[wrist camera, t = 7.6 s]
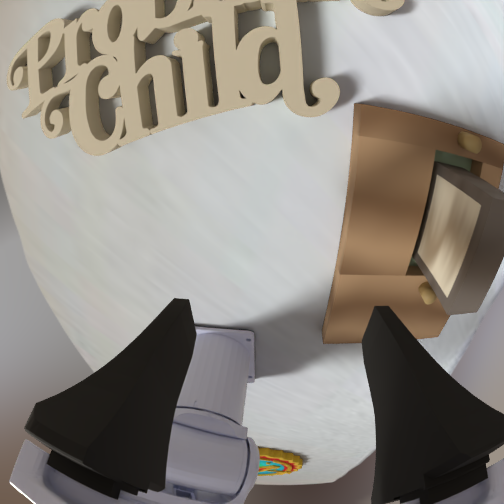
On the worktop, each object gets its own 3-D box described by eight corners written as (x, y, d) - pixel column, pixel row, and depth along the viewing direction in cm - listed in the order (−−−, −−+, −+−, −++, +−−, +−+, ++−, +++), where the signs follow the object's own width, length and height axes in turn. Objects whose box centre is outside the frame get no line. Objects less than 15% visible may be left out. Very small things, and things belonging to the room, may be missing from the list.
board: (433, 326, 24) (442, 347, 21) (321, 330, 25) (324, 356, 22) (494, 140, 13) (518, 150, 11) (354, 103, 14) (369, 104, 12)
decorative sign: (40, 202, 18) (4, 62, 11) (54, 193, 20) (19, 60, 13) (430, 110, 12) (370, -74, 5) (416, 107, 14) (363, -63, 7)
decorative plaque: (171, 459, 57) (208, 443, 42) (173, 452, 59) (210, 432, 44) (263, 480, 63) (327, 464, 48) (264, 473, 65) (327, 454, 50)
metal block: (439, 257, 19) (477, 312, 13) (411, 255, 20) (446, 315, 14) (463, 167, 15) (521, 205, 9) (433, 160, 15) (492, 197, 9)
